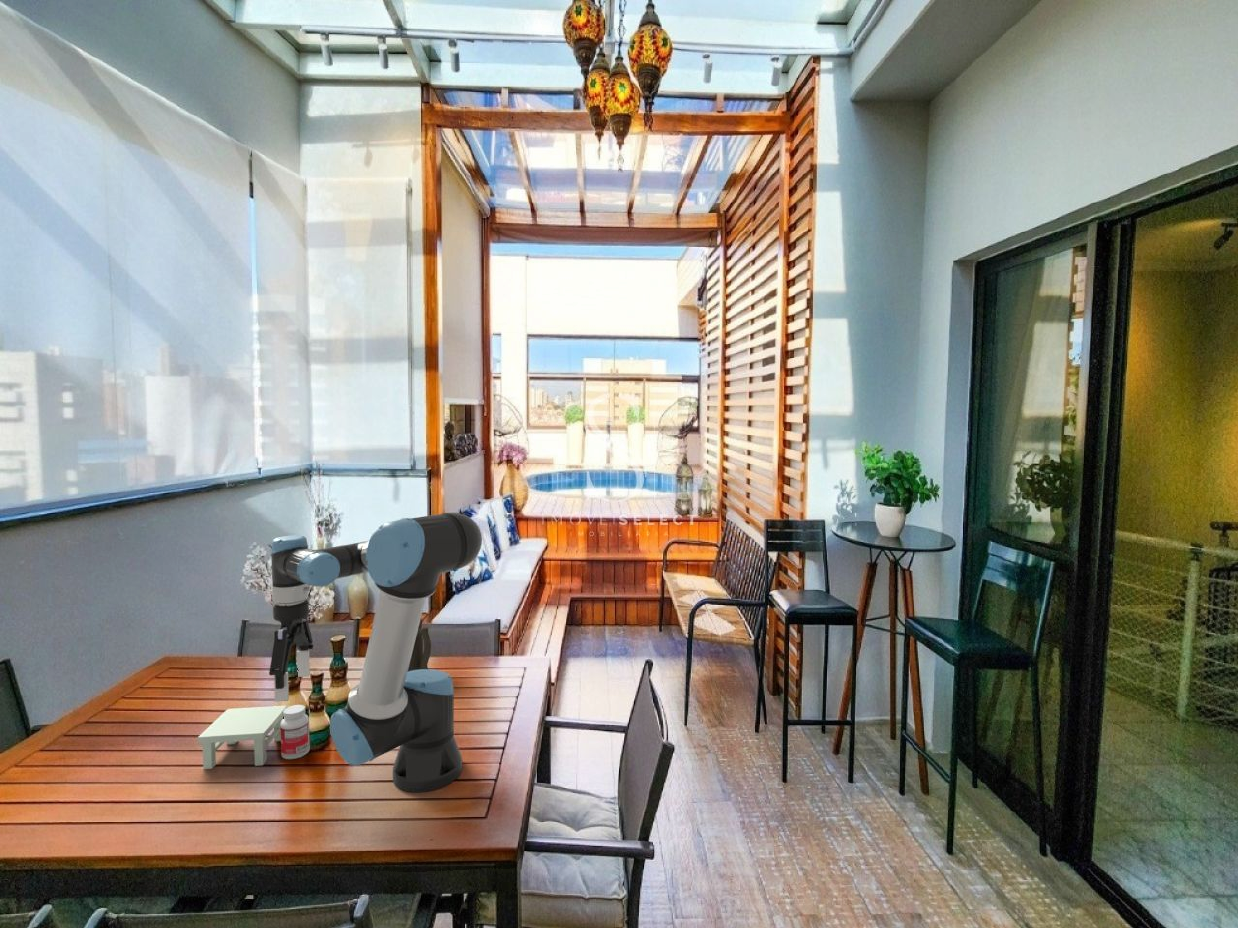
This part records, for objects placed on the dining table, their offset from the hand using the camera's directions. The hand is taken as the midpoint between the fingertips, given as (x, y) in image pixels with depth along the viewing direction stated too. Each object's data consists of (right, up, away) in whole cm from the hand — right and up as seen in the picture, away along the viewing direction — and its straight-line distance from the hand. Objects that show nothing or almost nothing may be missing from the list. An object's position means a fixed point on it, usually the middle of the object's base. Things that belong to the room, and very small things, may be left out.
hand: (293, 687), depth 147 cm
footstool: (-12, -16, +1) cm, 20 cm away
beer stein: (+14, -14, +43) cm, 48 cm away
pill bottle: (0, -16, +1) cm, 16 cm away
